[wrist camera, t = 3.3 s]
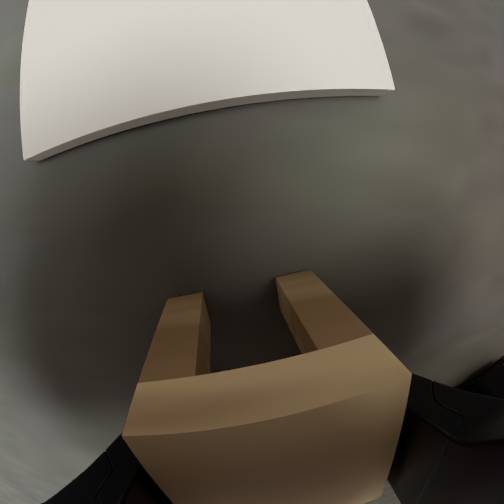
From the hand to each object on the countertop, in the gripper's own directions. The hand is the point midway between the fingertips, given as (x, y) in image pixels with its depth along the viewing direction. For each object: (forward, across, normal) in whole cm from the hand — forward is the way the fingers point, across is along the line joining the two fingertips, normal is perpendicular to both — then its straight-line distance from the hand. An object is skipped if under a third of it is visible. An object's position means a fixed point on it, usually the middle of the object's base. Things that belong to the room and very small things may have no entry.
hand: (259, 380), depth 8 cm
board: (+2, 0, -14) cm, 14 cm away
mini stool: (+2, 0, 0) cm, 2 cm away
